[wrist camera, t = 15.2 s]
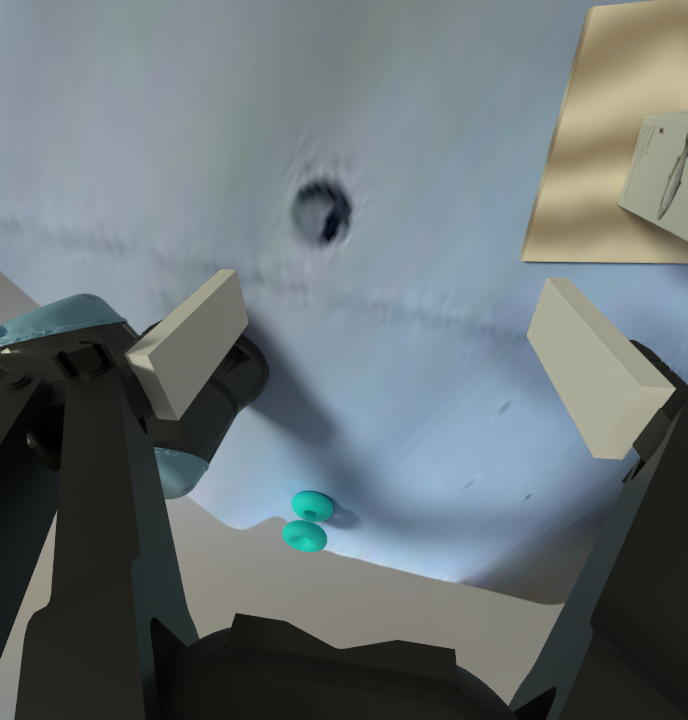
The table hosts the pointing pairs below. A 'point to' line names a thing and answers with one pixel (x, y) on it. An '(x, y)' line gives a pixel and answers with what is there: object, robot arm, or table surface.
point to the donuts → (306, 532)
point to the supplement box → (660, 173)
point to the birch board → (610, 137)
